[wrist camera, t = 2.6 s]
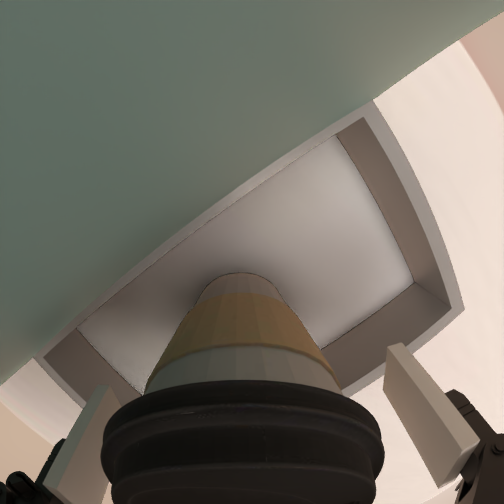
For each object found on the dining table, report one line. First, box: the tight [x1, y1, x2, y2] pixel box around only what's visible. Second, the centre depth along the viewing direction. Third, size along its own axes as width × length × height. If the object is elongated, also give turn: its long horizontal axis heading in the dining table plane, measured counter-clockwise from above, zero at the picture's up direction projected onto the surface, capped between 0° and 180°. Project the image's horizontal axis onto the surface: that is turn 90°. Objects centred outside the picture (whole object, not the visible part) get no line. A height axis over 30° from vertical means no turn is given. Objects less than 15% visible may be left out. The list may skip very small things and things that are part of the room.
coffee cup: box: [100, 273, 385, 504], centre depth 13 cm, size 9×9×15 cm
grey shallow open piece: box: [33, 100, 465, 408], centre depth 18 cm, size 15×26×5 cm, turn 125°
